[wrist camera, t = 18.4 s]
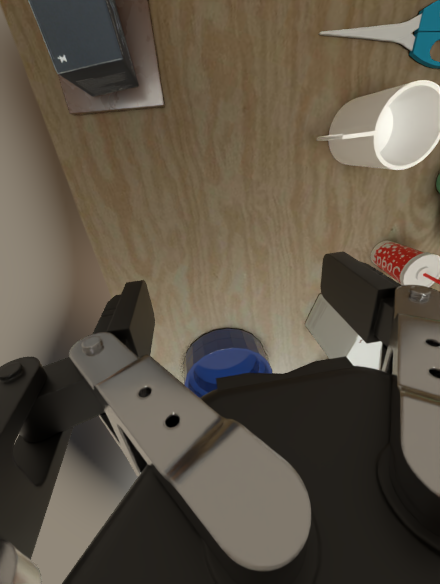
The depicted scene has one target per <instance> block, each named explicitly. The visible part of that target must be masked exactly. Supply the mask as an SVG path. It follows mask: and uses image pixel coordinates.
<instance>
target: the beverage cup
mask: <svg viewBox="0 0 440 584" xmlns="http://www.w3.org/2000/svg"><path fill="white" fill-rule="evenodd" d="M371 261H372V262H373V263H374V264H375V265H377V266H378V267H379V268H381V269H382V270H383V271H385V272H386V273H388V274H389V275H390V276H392V277H393V278H395V279H396V280H397V281H399V282H400V283H401V285H421V286H426V287H430V286H431V285H432V284H434V283H435V282H436V283H438V284H440V280H438V278H439V276H440V257H439V256H438V255H435V254H432V253H424V252H421V251H418V250H415V249H413V248H410V247H407V246H404V245H401V244H398V243H395V242H392V241H388V240H386V241H382V242H380V243H379V244H377V245H376V246H375V247H374V248H373V250H372V252H371Z"/></svg>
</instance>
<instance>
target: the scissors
mask: <svg viewBox="0 0 440 584" xmlns="http://www.w3.org/2000/svg"><path fill="white" fill-rule="evenodd" d="M413 31H415V32H414V33H416V34H414V35H412V34H411V33H412V32H413ZM319 35H326V36H338V37H350V38H360V39H369V40H378V41H390V42H395V43H399V44H401V45H403V46H404V47H406V48H407V49H408V50H410V53H409V56H411V57H412V58H413V59H414V60H415V61H417V62H418V63H420V64H422V65H424V66H426V67H430V68H438V69H440V62H437V61H434V60H433V59H431V56H430V49H431V47H432V45H433V44H434V43H435V42H436V41H438V40H440V0H438V1H436V2H434V3H432V4H431V5H429V6H427V7H426V8H424V9H423V10H421V11H419V15H418V16H416V17H415V18H413V19H411V20H409V21H407V22H404V23H400V24H391V25H382V26H373V27H364V28H355V29H344V30H333V31H322V32H320V33H319Z"/></svg>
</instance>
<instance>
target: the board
mask: <svg viewBox="0 0 440 584" xmlns="http://www.w3.org/2000/svg"><path fill="white" fill-rule="evenodd" d="M115 3H116V7H117V11H118V14H119V18H120V22H121V25H122V29H123V32H124V36H125V39H126V43H127V46H128V50H129V53H130V56H131V60H132V63H133V67H134V70H135V74H136V77H137V80H138V84H139V86H138V87H133V88H129V89H125V90H120V91H115V92H111V93H107V94H103V95H98V96H91V95H89V94H88V93H86V92H85V91H83V90H82V89H80V88H79V87H77V86H76V85H74V84H73V83H71V82H70V81H68V80H67V79H65V78H63V77H62V76H61V75H59V74H58V77H59V80H60V83H61V86H62V90H63V93H64V96H65V100H66V103H67V106H68V110H69V113H70V114H72V115H82V114H93V113H104V112H115V111H126V110H137V109H148V108H159V107H165V105H164V98H163V92H162V86H161V79H160V73H159V66H158V60H157V54H156V47H155V41H154V35H153V28H152V22H151V15H150V9H149V3H148V0H115Z"/></svg>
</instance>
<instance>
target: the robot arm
mask: <svg viewBox="0 0 440 584" xmlns="http://www.w3.org/2000/svg"><path fill="white" fill-rule="evenodd" d="M321 293H322V296H323V297H324V299H325V300H326V301H327V302H328V303H329V304H330V305H331V306H332V307H333V308H334V310H335V311H336V312H337V313H338V314H339V315H340V316H341V317H342V318H343V319H344V320H345V321H346V322H347V323H348V324H349V325H350V326H351V328H352V329H353V330H354V331H355V332H356V333H357V334H358V335H359V336H360V337H361V338H362V339H363V340H364V341H365V342H366V343H367V344H368V343H373V342H379V341H381V342H382V346H381V350H380V359H379V370H377V369H373V368H368V367H362V366H353V365H352V363H351V362H350V361H349V359H348V358H347V357H346V356H344V357H338V358H332V359H326V360H320V361H315V362H312V363H310V364H307V365H305V366H303V367H300V368H298V369H295V370H293V371H291V372H288V373H284V374H273V373H244V374H238V375H233V376H227V377H221V378H216V383H217V389H216V390H213V391H211V392H209V393H207V394H205V395H204V396H202V397H201V398H199V397H198V396H197V395H196V394H194V393H193V392H192V391H191V390H190V389H188V388H187V387H186V386H185V385H184V384H183V383H181V382H180V381H179V380H178V379H177V378H175V377H174V376H173V375H172V374H171V373H170V372H168V371H167V370H166V369H165V368H164V367H162V366H161V365H160V364H159V363H158V362H157V361H155V360H154V359H153V358H152V357H151V356H150V352H151V345H152V339H153V332H154V326H155V318H154V312H153V308H152V304H151V300H150V296H149V293H148V289H147V285H146V282H145V281H144V280H141V281H135V282H128V283H126V284H125V287H124V289H123V292H122V294H121V295H115V296H114V297H113V298H112V299H111V300H110V301H109V302H108V303H107V305H106V307H105V309H104V311H103V313H102V315H101V318H100V319H99V321H98V324H97V326H96V328H95V330H94V332H93V334H91V335H88V336H86V337H84V338H82V339H81V340H79V341H78V342H77V343H75V344H74V345H73V346H72V348H71V349H70V351H69V357H68V358H65V359H63V360H60V361H57V362H54V363H52V364H49V365H46V366H43V367H42V365H41V364H40V362H39V360H38V359H37V358H35V357H23V358H19V359H16V360H13V361H10V362H8V363H6V364H4V365H3V366H1V367H0V584H42V580H41V573H40V570H39V568H38V567H37V565H36V564H35V563H34V562H32V561H31V557H32V554H33V551H34V548H35V544H36V541H37V538H38V535H39V532H40V529H41V526H42V523H43V519H44V516H45V513H46V510H47V507H48V504H49V501H50V498H51V495H52V492H53V488H54V485H55V482H56V479H57V476H58V473H59V470H60V467H61V464H62V461H63V458H64V454H65V451H66V448H67V445H68V442H69V439H70V436H71V433H72V430H73V427H74V426H76V425H78V424H80V423H83V422H85V421H87V420H89V419H92V418H94V417H96V416H98V415H99V417H100V418H101V420H102V421H103V423H104V424H105V426H106V427H107V429H108V430H109V432H110V433H111V435H112V436H113V438H114V439H115V441H116V442H117V443H118V445H119V446H120V448H121V450H122V451H123V452H124V454H125V456H126V458H127V459H128V460H129V463H130V464H131V466H132V468H133V470H134V471H135V473H136V475H137V476H138V478H137V479H136V481H135V482H134V484H133V485H132V486H131V488H130V489H129V491H128V492H127V493H126V495H125V496H124V498H123V499H122V500H121V502H120V503H119V505H118V506H117V507H116V509H115V510H114V512H113V513H112V514H111V516H110V517H109V519H108V520H107V521H106V523H105V524H104V526H103V527H102V528H101V530H100V531H99V532H98V534H97V535H96V537H95V538H94V540H93V541H92V542H91V544H90V545H89V546H88V548H87V549H86V551H85V552H84V554H83V555H82V556H81V558H80V559H79V560H78V562H77V563H76V565H75V566H74V568H73V569H72V570H71V572H70V573H69V575H68V576H67V577H66V579H65V580H64V581H63V583H62V584H440V292H439V291H437V290H435V289H432V288H430V287H426V286H421V285H400V284H399V283H397V282H395V281H394V280H392V279H391V278H389V277H387V276H386V275H383V273H381V272H380V271H378V270H376V269H375V268H373V267H372V266H370V265H368V264H366V263H363V262H360V261H358V260H356V259H354V258H353V257H351V256H350V255H348V254H347V253H345V252H337V253H330V254H326V255H325V256H324V258H323V266H322V277H321ZM18 434H20V435H19V437H18V439H17V440H16V438H17V436H18ZM15 440H16V442H15ZM14 443H15V444H14Z"/></svg>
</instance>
